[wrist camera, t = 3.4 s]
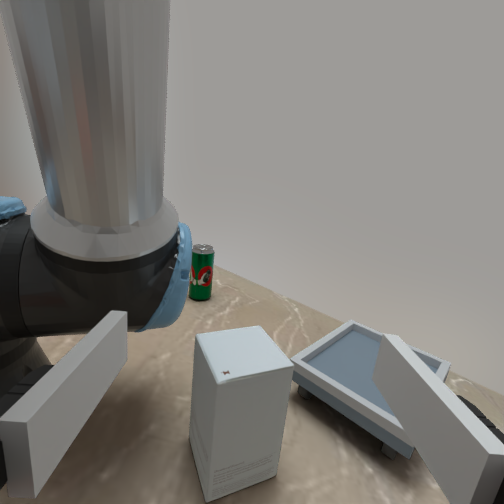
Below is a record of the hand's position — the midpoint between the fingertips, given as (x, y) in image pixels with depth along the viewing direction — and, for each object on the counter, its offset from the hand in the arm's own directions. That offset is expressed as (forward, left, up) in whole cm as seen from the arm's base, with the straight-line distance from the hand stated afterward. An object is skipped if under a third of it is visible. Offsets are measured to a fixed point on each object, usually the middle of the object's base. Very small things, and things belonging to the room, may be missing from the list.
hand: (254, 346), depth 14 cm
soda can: (+27, +40, -20) cm, 52 cm away
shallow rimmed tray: (+27, +1, -19) cm, 33 cm away
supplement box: (+7, +7, -20) cm, 22 cm away
